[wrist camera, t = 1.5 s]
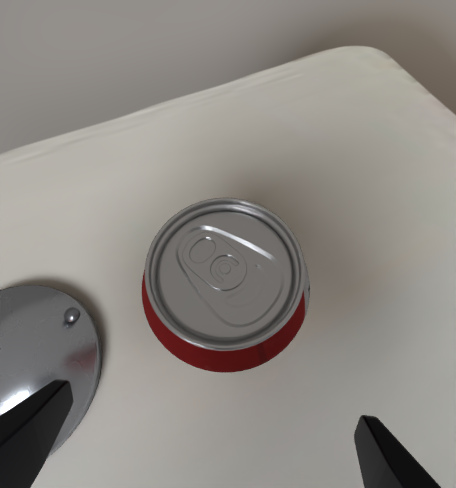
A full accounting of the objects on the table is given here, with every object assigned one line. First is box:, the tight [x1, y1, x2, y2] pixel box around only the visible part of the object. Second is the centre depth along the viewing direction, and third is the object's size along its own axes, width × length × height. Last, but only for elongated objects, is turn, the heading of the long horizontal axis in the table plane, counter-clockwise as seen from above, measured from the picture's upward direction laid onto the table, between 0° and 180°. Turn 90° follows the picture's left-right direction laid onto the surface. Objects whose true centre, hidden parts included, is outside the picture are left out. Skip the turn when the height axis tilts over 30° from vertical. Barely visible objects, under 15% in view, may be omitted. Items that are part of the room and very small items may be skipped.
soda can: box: [142, 198, 310, 372], centre depth 15 cm, size 7×7×12 cm
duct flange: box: [0, 285, 102, 458], centre depth 18 cm, size 12×12×1 cm
